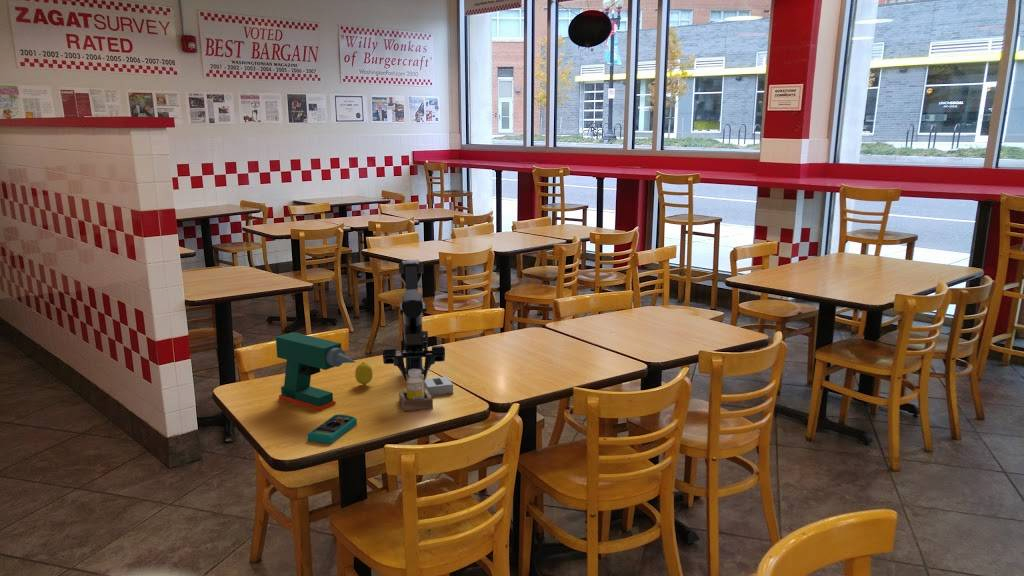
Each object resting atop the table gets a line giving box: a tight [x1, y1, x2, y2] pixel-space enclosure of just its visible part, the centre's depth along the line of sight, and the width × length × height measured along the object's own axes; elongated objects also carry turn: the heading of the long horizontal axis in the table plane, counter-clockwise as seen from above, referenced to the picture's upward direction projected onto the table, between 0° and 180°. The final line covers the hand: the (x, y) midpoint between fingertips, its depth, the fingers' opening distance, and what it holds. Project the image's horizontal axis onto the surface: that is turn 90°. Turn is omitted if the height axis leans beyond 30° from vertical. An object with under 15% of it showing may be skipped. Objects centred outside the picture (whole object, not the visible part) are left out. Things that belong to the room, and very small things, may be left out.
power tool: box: [275, 331, 356, 412], centre depth 216 cm, size 32×7×20 cm, turn 56°
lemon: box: [354, 361, 373, 387], centre depth 234 cm, size 6×6×8 cm
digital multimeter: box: [307, 414, 358, 445], centre depth 198 cm, size 7×15×3 cm, turn 163°
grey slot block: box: [424, 376, 454, 396], centre depth 230 cm, size 8×8×3 cm
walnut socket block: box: [398, 389, 434, 413], centre depth 218 cm, size 10×8×3 cm
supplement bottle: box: [405, 369, 424, 400], centre depth 217 cm, size 5×5×10 cm
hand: (415, 380), depth 215 cm, fingers closed on supplement bottle, 5 cm apart
